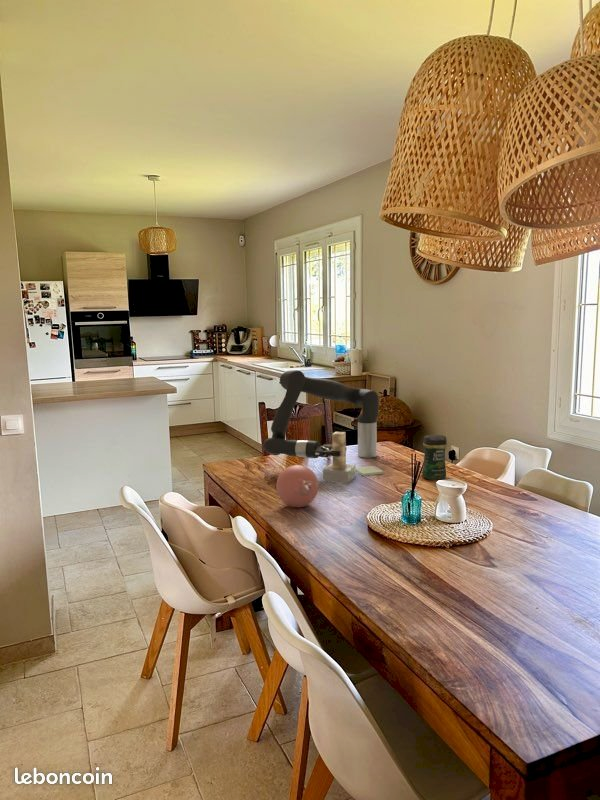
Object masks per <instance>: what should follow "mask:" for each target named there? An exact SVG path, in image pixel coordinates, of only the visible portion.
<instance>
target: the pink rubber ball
mask: <svg viewBox="0 0 600 800" xmlns="http://www.w3.org/2000/svg"><path fill="white" fill-rule="evenodd" d="M276 480H277V481H276V488H275V489H276V491H277V495H278V497H279V499H280V500H281V501H282V502H283V503H284V504H285V505H287V506H289V507H292V508H302V507H306V506H308V505H309V504H311V503H312V502H313V501H314V500H315V499H316V497H317V494H318V492H319V481H318V477H317V476H316V474H315V472H314V471H313V470H312V469H311V468H309V467H307V466H305V465H301V464H295V465H294V464H293V465H290V466H288V467H286V468H285V469H283V470H282V471H281V472H280V473H279V475H278V477H277V479H276Z"/></svg>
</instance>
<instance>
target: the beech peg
mask: <svg viewBox="0 0 600 800" xmlns="http://www.w3.org/2000/svg"><path fill="white" fill-rule="evenodd" d="M346 434H347V433H346V431H335V432H333V433H332V435H331V439H332V443H331V444H332V450H333V451H340V456H339V457H337V456H332V463H333V469H345V468H346V464H347V440H346V436H347V435H346Z"/></svg>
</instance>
